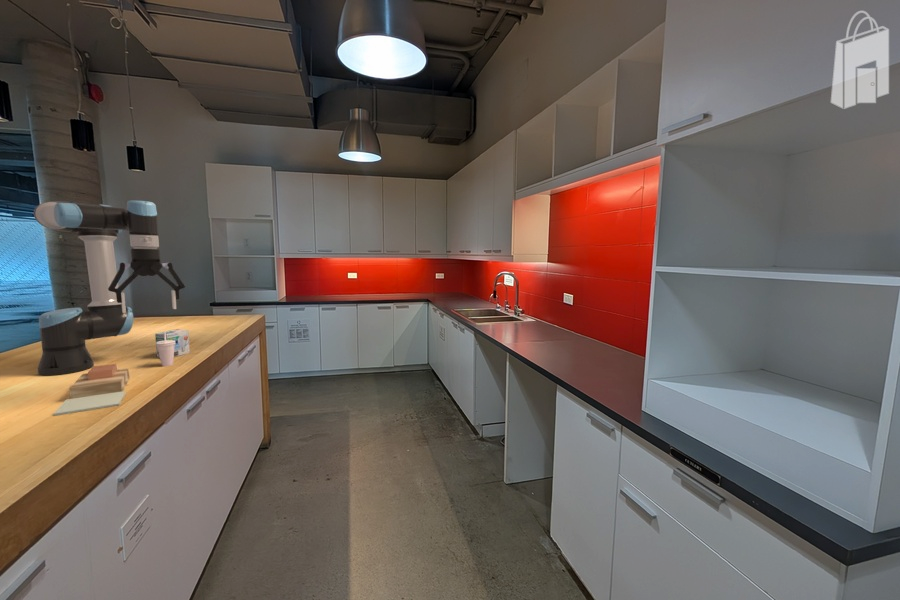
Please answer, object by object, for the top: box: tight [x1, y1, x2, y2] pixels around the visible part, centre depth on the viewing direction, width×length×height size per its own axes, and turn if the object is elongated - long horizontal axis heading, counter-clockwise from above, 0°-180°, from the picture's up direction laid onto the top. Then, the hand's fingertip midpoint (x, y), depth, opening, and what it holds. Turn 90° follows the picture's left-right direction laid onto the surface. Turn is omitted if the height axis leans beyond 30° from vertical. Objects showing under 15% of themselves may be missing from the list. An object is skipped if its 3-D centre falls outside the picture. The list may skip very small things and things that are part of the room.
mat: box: [53, 390, 127, 417], centre depth 114 cm, size 12×14×1 cm
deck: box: [69, 368, 130, 399], centre depth 125 cm, size 16×12×4 cm
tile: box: [87, 363, 118, 380], centre depth 128 cm, size 8×6×2 cm
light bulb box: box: [154, 328, 190, 359], centre depth 166 cm, size 11×7×11 cm, turn 167°
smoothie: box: [155, 331, 175, 367], centre depth 152 cm, size 6×6×14 cm
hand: (150, 310), depth 128 cm, fingers open, 13 cm apart
